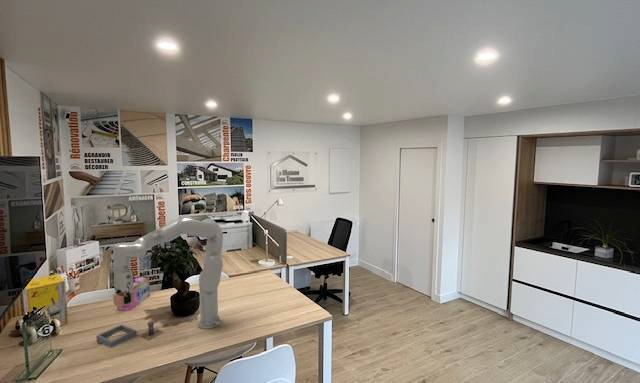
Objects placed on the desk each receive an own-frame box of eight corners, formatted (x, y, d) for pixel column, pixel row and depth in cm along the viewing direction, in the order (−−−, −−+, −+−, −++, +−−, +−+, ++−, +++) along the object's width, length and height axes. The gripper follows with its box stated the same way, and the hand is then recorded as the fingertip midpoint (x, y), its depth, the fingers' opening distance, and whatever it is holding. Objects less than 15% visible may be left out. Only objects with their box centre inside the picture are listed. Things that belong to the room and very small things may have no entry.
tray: (136, 336, 175) (136, 330, 175) (111, 349, 164) (110, 342, 163) (122, 330, 181) (121, 324, 181) (96, 342, 170) (96, 335, 170)
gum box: (128, 312, 203) (126, 290, 201) (115, 311, 203) (114, 290, 202) (150, 295, 226) (149, 276, 225) (139, 295, 227) (138, 275, 225)
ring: (136, 301, 173) (136, 292, 173) (121, 307, 166) (120, 297, 166) (129, 298, 177) (128, 289, 176) (113, 304, 170) (113, 294, 169)
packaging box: (68, 323, 188) (65, 281, 185) (30, 335, 176) (26, 289, 173) (61, 314, 199) (58, 273, 196) (25, 324, 187) (21, 281, 184)
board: (164, 334, 178) (163, 321, 177) (148, 342, 170) (148, 329, 169) (153, 329, 182) (153, 317, 182) (138, 337, 174) (137, 324, 174)
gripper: (140, 268, 168) (140, 302, 170) (119, 262, 176) (120, 295, 178) (125, 272, 162) (126, 308, 163) (105, 266, 170) (106, 300, 172)
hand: (123, 301), depth 171 cm, fingers closed on ring, 6 cm apart
